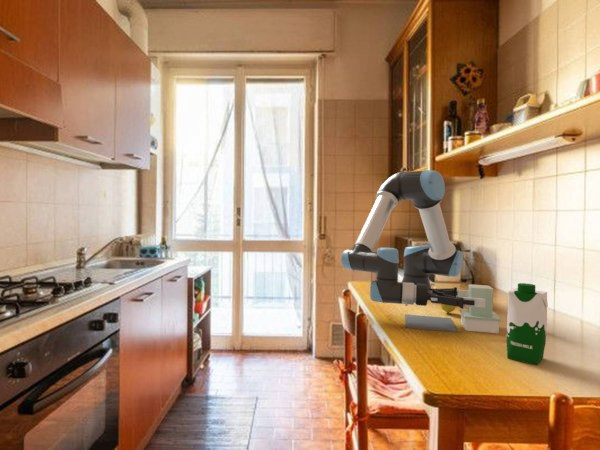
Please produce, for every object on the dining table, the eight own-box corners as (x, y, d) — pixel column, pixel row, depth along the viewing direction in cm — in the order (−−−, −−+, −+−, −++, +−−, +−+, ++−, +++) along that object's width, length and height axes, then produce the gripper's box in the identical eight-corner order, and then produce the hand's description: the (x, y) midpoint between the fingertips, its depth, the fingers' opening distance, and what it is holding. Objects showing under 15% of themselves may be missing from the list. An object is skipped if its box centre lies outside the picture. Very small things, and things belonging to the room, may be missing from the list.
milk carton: (502, 358, 105) (505, 283, 105) (511, 350, 112) (514, 279, 112) (540, 367, 100) (544, 288, 99) (547, 358, 106) (551, 283, 106)
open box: (460, 322, 140) (461, 311, 140) (491, 325, 138) (492, 313, 138) (465, 330, 130) (466, 318, 130) (498, 333, 128) (499, 321, 128)
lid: (459, 310, 141) (460, 282, 140) (493, 313, 138) (494, 284, 138) (464, 318, 130) (465, 288, 130) (501, 321, 127) (502, 290, 127)
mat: (405, 315, 148) (405, 314, 148) (450, 319, 144) (450, 318, 144) (406, 327, 132) (406, 325, 132) (457, 332, 128) (457, 330, 128)
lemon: (457, 315, 150) (457, 294, 150) (441, 314, 151) (442, 293, 151) (454, 312, 155) (455, 291, 155) (439, 311, 156) (440, 291, 156)
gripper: (413, 297, 151) (473, 302, 146) (416, 313, 127) (488, 319, 121) (414, 278, 151) (474, 281, 145) (417, 289, 126) (489, 294, 121)
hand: (481, 298), depth 133 cm, fingers open, 13 cm apart
